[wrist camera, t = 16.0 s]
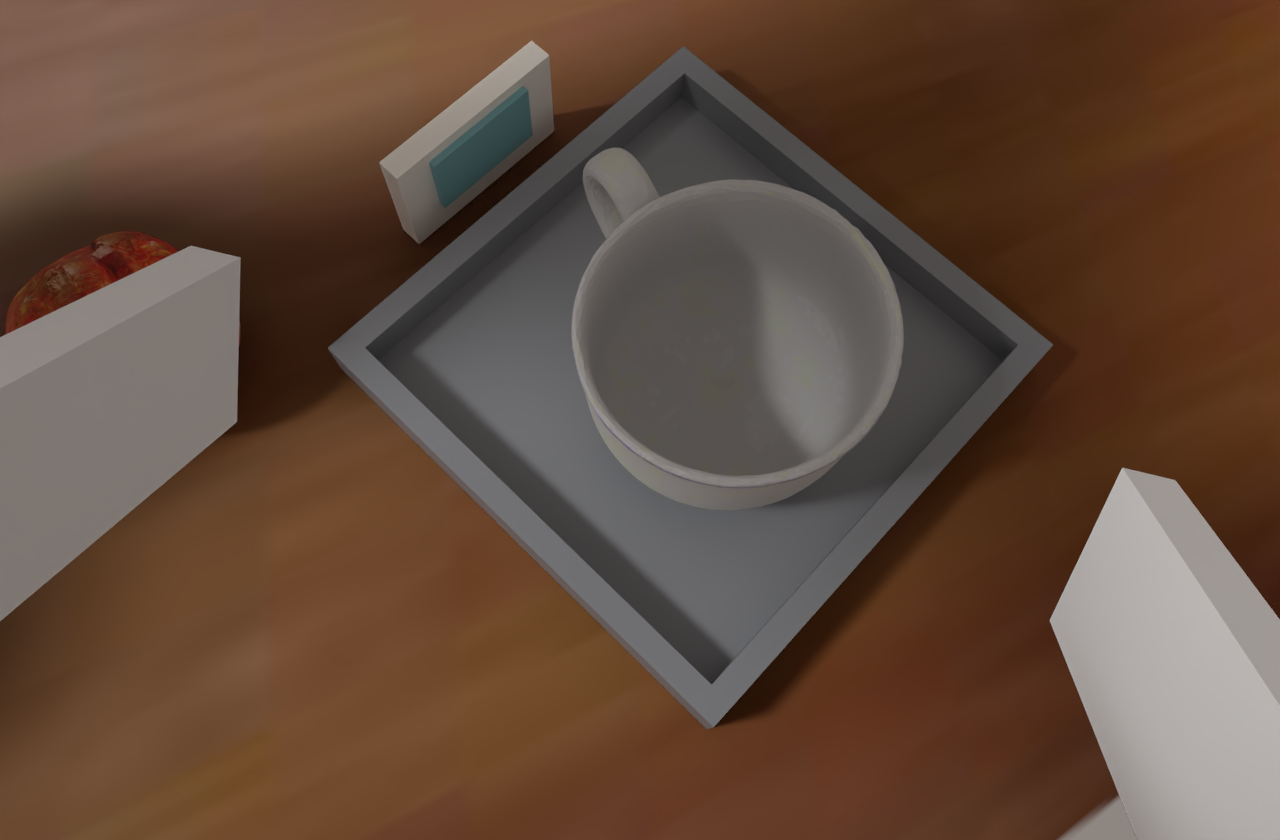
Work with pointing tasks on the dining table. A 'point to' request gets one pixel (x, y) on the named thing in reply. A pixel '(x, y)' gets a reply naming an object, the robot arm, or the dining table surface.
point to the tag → (471, 143)
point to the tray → (575, 451)
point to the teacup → (730, 335)
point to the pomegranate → (85, 274)
